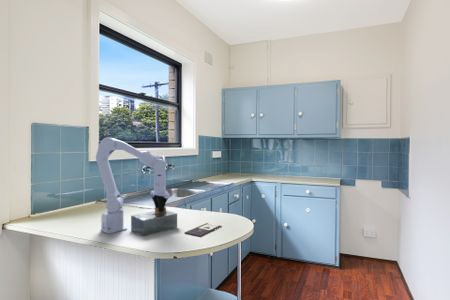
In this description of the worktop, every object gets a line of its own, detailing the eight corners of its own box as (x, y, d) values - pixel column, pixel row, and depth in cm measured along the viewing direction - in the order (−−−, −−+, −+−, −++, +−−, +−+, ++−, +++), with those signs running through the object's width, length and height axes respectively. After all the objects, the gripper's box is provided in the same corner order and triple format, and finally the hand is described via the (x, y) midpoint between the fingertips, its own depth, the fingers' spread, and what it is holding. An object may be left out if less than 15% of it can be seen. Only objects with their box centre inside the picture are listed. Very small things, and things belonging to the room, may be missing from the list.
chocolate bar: (184, 232, 129) (206, 223, 144) (184, 234, 129) (206, 224, 144) (200, 235, 124) (221, 225, 140) (200, 237, 124) (221, 227, 140)
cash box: (143, 236, 125) (143, 220, 125) (131, 230, 134) (131, 215, 134) (177, 227, 138) (177, 213, 138) (163, 222, 146) (163, 209, 146)
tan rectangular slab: (156, 219, 136) (157, 208, 136) (154, 218, 137) (154, 208, 137) (165, 217, 139) (166, 207, 139) (163, 216, 140) (163, 206, 140)
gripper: (175, 184, 135) (175, 212, 135) (159, 181, 145) (159, 207, 146) (162, 185, 130) (162, 214, 130) (146, 182, 140) (146, 209, 141)
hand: (159, 211), depth 138 cm, fingers closed on tan rectangular slab, 2 cm apart
